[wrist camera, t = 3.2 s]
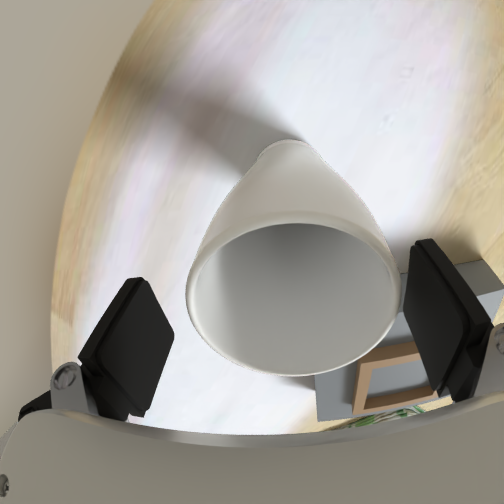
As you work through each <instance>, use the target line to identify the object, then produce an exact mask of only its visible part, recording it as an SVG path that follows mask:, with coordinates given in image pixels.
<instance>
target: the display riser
mask: <svg viewBox="0 0 504 504" xmlns="http://www.w3.org/2000/svg"><path fill="white" fill-rule="evenodd" d="M454 266H455V268H456V269H457V270H458V272H459V273H460V274H461V276H462V277H463V278H464V280H465V281H466V283H467V284H468V285H469V287H470V288H471V290H472V291H473V292H474V294H475V295H476V297H477V298H478V300H479V301H480V303H481V304H482V306H483V307H484V309H485V311H486V312H487V314H488V315H489V317H490V318H491V322H493V320H494V317H495V315H496V313H497V310H498V308H499V306H500V303H501V301H502V298H503V295H504V285H503V283H502V282H501V281H500V279H499V278H498V277H497V276H496V274H495V273H494V272H493V270H492V269H491V268H490V267H489V265H488V264H487V263H486V262H485V261H484V260H478V261H473V262H468V263H462V264H457V265H454ZM407 276H408V273H403V274H400V277H401V283H402V299H401V305H400V308H399V312H398V315H397V317H396V319H395V322H394V323H393V325H392V327H391V329H390V330H389V332H388V333H387V334H386V336H385V337H384V338H383V339H382V340H381V341H380V342H379V343H378V344H377V345H376V346H375V347H374V348H373V349H372V350H371V351H369V352H368V353H367V354H365V355H364V356H362V357H361V358H359V359H357V360H356V361H354V362H352V363H350V364H348V365H346V366H343V367H341V368H338V369H335V370H332V371H329V372H325V373H320V374H315V375H314V378H315V391H316V404H317V419H318V422H320V421H330V420H339V419H347V418H355V417H361V416H368V415H373V414H379V413H384V412H390V411H394V410H399V409H404V408H408V407H412V406H416V405H420V404H424V403H428V402H431V401H435V400H438V399H442V398H445V397H448V396H451V395H447V396H444V397H441V398H438V394H437V391H433V390H432V389H431V386H430V383H429V380H428V377H427V374H426V371H425V368H424V365H423V363H422V360H421V357H420V354H419V352H418V349H417V346H416V344H415V341H414V338H413V336H412V333H411V331H410V328H409V326H408V323H407V321H406V319H405V316H404V313H403V303H404V297H405V291H406V284H407Z"/></svg>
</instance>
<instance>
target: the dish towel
mask: <svg viewBox="0 0 504 504" xmlns="http://www.w3.org/2000/svg"><path fill="white" fill-rule="evenodd" d="M424 412H427V411H425V410H423V409H421V408H420V407H418V406H412V407H408V408H404V409H399V410H394V411H390V412H384V413H379V414H373V415H371V416H368V417H366V418H363V419H361V420H359V421H356V422H354V423H351V424H348V425H346V426H343V427H340V428H337V429H334V430H339V429H347V428H353V427H360V426H365V425H371V424H376V423H381V422H386V421H391V420H395V419H399V418H404V417H408V416H412V415H416V414H420V413H424Z"/></svg>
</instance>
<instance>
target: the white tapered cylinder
mask: <svg viewBox="0 0 504 504" xmlns="http://www.w3.org/2000/svg"><path fill="white" fill-rule="evenodd" d="M185 297H186V306H187V310H188V314H189V317H190V319H191V321H192V324H193V326H194V327H195V329H196V331H197V332H198V334H199V335H200V336H201V338H202V339H203V340H204V341H205V342H206V343H207V344H208V345H209V346H210V347H211V348H212V349H213V350H214V351H216V352H217V353H218V354H220V355H221V356H223V357H224V358H226V359H227V360H229V361H231V362H233V363H235V364H237V365H239V366H241V367H244V368H247V369H249V370H253V371H256V372H260V373H264V374H270V375H277V376H308V375H315V374H320V373H325V372H329V371H332V370H335V369H338V368H341V367H343V366H346V365H348V364H350V363H352V362H354V361H356V360H357V359H359V358H361V357H362V356H364V355H365V354H367V353H368V352H369V351H371V350H372V349H373V348H374V347H375V346H376V345H377V344H378V343H379V342H380V341H381V340H382V339H383V338H384V337H385V336H386V334H387V333H388V332H389V330H390V329H391V327H392V325H393V323H394V322H395V319H396V317H397V315H398V312H399V308H400V305H401V299H402V283H401V277H400V273H399V269H398V267H397V264H396V262H395V260H394V258H393V255H392V253H391V251H390V248H389V246H388V244H387V242H386V239H385V237H384V235H383V233H382V231H381V229H380V228H379V226H378V224H377V222H376V221H375V219H374V217H373V216H372V214H371V212H370V211H369V209H368V208H367V206H366V205H365V203H364V202H363V200H362V199H361V198H360V197H359V195H358V194H357V193H356V192H355V190H354V189H353V188H352V187H351V186H350V185H349V184H348V183H347V182H346V181H345V180H344V179H343V178H342V177H341V176H340V175H339V174H338V173H337V172H336V171H335V170H334V169H333V168H332V167H331V166H330V165H328V164H327V163H326V162H325V161H324V160H323V159H322V157H321V156H320V154H319V153H318V152H317V151H316V150H315V149H314V148H313V147H311V146H310V145H308V144H307V143H304V142H302V141H298V140H293V139H286V140H280V141H277V142H274V143H272V144H270V145H269V146H267V147H266V148H265V149H264V150H263V151H262V152H261V153H260V155H259V156H258V158H257V160H256V162H255V163H254V164H253V165H252V166H251V168H250V169H249V170H248V171H247V172H246V173H245V174H244V176H243V177H242V178H241V179H240V180H239V181H238V182H237V184H236V185H235V186H234V187H233V188H232V190H231V191H230V192H229V193H228V195H227V196H226V198H225V199H224V201H223V202H222V204H221V205H220V207H219V208H218V210H217V211H216V213H215V215H214V217H213V219H212V221H211V223H210V225H209V227H208V229H207V231H206V233H205V235H204V237H203V239H202V242H201V244H200V246H199V249H198V251H197V254H196V257H195V259H194V262H193V264H192V267H191V269H190V272H189V275H188V278H187V283H186V293H185Z"/></svg>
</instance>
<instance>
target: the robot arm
mask: <svg viewBox="0 0 504 504" xmlns="http://www.w3.org/2000/svg"><path fill="white" fill-rule="evenodd" d="M403 313H404V316H405V319H406V321H407V323H408V326H409V328H410V331H411V333H412V336H413V338H414V341H415V344H416V346H417V349H418V352H419V354H420V357H421V360H422V363H423V365H424V368H425V371H426V374H427V377H428V380H429V383H430V386H431V389H432V390H433V391H437V394H438V398H441V397H444V396H447V395H451V398H452V400H453V403H452V404H451V405H447V406H444V407H441V408H438V409H434V410H431V411H427V412H424V413H420V414H416V415H412V416H408V417H404V418H399V419H395V420H391V421H386V422H381V423H376V424H371V425H365V426H360V427H353V428H347V429H339V430H331V431H323V432H312V433H299V434H281V435H228V434H210V433H198V432H187V431H178V430H170V429H163V428H156V427H150V426H144V425H138V424H133V423H130V422H129V419H128V415H129V413H130V414H131V415H132V416H137V417H143V418H144V415H145V412H146V411H147V410H148V409H149V408H150V405H151V403H152V400H153V397H154V394H155V391H156V388H157V385H158V382H159V379H160V377H161V374H162V371H163V368H164V365H165V363H166V360H167V357H168V354H169V352H170V349H171V346H172V344H173V341H174V331H173V329H172V327H171V326H170V324H169V322H168V320H167V318H166V316H165V314H164V312H163V310H162V308H161V306H160V304H159V303H158V301H157V299H156V297H155V295H154V292H153V290H152V288H151V286H150V284H149V283H148V281H146V280H144V279H143V278H142V277H137V278H129V279H127V280H126V281H125V283H124V284H123V286H122V287H121V288H120V290H119V291H118V293H117V294H116V296H115V297H114V299H113V300H112V302H111V304H110V305H109V307H108V308H107V310H106V311H105V313H104V314H103V316H102V317H101V319H100V321H99V322H98V324H97V325H96V327H95V329H94V330H93V332H92V334H91V335H90V337H89V338H88V340H87V342H86V343H85V345H84V347H83V349H82V350H81V352H80V354H79V355H78V359H79V360H80V361H81V362H82V365H81V367H80V366H79V365H78V364H77V363H75V362H67V363H65V364H63V365H61V366H60V367H59V368H58V369H57V370H56V371H55V372H54V374H53V375H52V378H51V382H50V389H51V390H49V391H47V392H46V393H44V394H42V395H41V396H39V397H38V398H36V399H34V400H32V401H31V402H29V403H28V404H26V405H25V406H23V407H22V408H21V410H20V414H19V418H18V422H16V423H15V424H14V425H13V426H12V427H11V428H10V429H9V430H8V431H7V432H6V433H5V434H4V435H3V436H2V437H1V438H0V504H504V323H500V324H498V325H496V326H495V327H494V325H493V324H492V322H491V318H490V317H489V315H488V314H487V312H486V311H485V309H484V307H483V306H482V304H481V303H480V301H479V300H478V298H477V297H476V295H475V294H474V292H473V291H472V290H471V288H470V287H469V285H468V284H467V283H466V281H465V280H464V278H463V277H462V276H461V274H460V273H459V272H458V270H457V269H456V268H455V266H454V265H453V264H452V262H451V261H450V260H449V259H448V257H447V256H446V255H445V254H444V252H443V251H442V250H441V249H440V247H439V246H438V245H437V244H436V243H435V241H434V240H433V239H424V240H417V241H416V242H415V245H413V246H411V250H410V259H409V268H408V276H407V284H406V291H405V297H404V303H403Z"/></svg>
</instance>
